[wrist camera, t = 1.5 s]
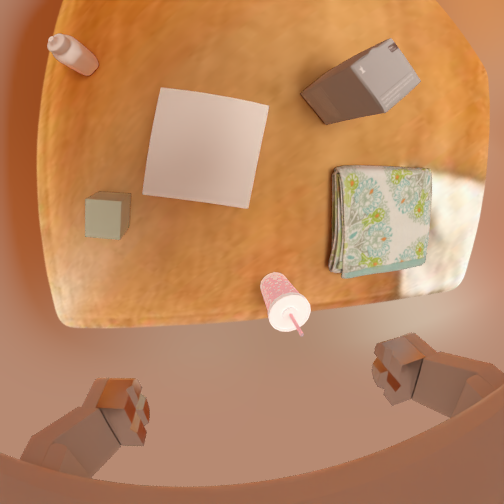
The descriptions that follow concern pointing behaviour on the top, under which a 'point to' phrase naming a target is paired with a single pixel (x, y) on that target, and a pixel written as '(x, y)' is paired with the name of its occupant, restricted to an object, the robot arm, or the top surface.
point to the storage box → (204, 147)
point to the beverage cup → (284, 303)
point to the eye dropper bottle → (72, 54)
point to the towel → (379, 219)
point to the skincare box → (362, 84)
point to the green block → (107, 215)
